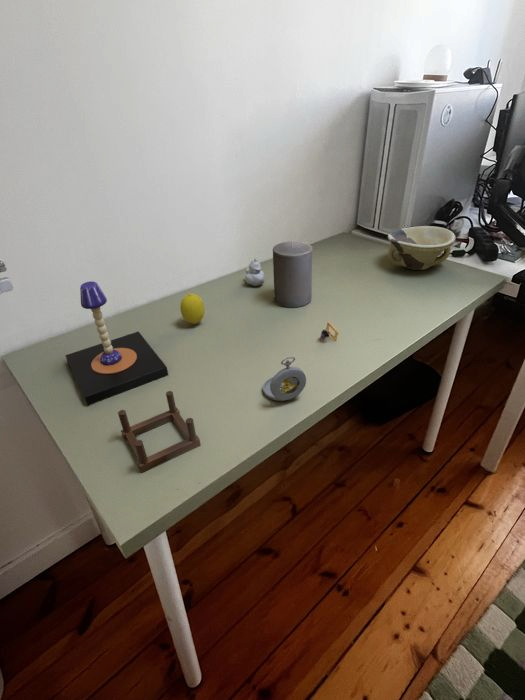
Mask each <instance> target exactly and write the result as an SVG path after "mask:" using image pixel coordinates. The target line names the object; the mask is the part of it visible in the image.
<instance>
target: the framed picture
mask: <svg viewBox="0 0 525 700" xmlns="http://www.w3.org/2000/svg"><path fill="white" fill-rule="evenodd" d="M330 328H331V329H332V331H334V334H333V333H332V332H331V331H330ZM338 336H339V331H338V330H337V329H336V327H334V326H333V325H332V324H331V322H330V321H327V324H326V328H325V329H322V331H321V334H320V337H318V338H317V340H323V341H324V340H325V339H327V338H328V337H332V339H333V340H334V341H337V339H338Z"/></svg>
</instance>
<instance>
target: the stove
mask: <svg viewBox="0 0 525 700" xmlns="http://www.w3.org/2000/svg"><path fill="white" fill-rule="evenodd" d="M110 341H111V345H112V347H113V350H117V351H118V352H120V354H121V355H122V358H121V360H120V361H119V362H117V363H115V364H113V365H103V364H102V363H101V361H100V358H101V355H102V354H103V353H104V352H105V351H104V346H103V345H102V342H101V343H98V344H95V345H93V346H89V347H85V348H83V349H79V350H78V351H74V352H72V353H68V354H65V356H64V357H65V359H66V361H67V364H68V367H69V368H70V370H71V373H72V375H73V378H74V379H75V381H76V384H77V386H78V388H79V391H80V393H81V394H82V397H83V399H84V401H85V403H86V406H88V407H89V406H91V405H93V404H96V403H98V402H101V401H104V400H106V399H109V398H111V397H114V396H117V395H120V394H122V393H124V392H127V391H130V390H132V389H135V388H138V387H140V386H143V385H146V384H149V383H151V382H153V381H157V380H159V379H161V378H164V377H167V376H169V371H168V367H167V365H166V364H165V363H164V362H163V360H162V359H161V358H160V356H159V355H158V354H157V353H156V352H155V350H154V349H153V347H151V345H150V344H149V343H148V341H147V340H146V339H145V338H144V336H143V335H142V334H141V332H140V331H138V330H137V331H135V332H132V333H129V334H125V335H123V336H120V337H117V338H114V339H110Z"/></svg>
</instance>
